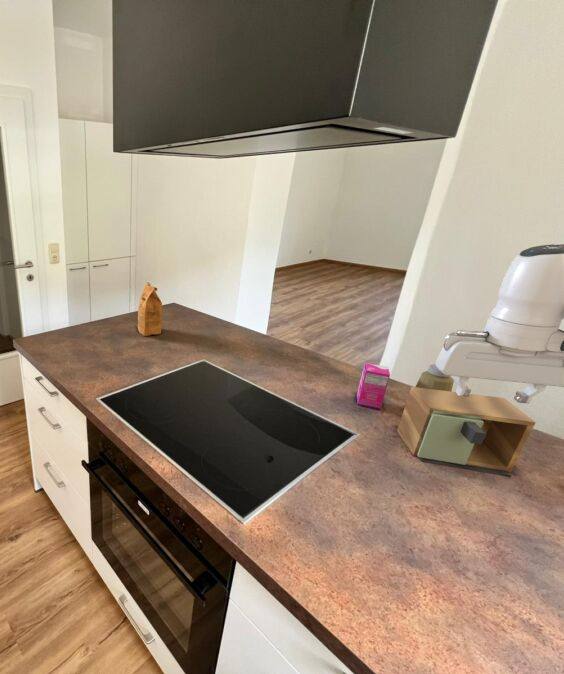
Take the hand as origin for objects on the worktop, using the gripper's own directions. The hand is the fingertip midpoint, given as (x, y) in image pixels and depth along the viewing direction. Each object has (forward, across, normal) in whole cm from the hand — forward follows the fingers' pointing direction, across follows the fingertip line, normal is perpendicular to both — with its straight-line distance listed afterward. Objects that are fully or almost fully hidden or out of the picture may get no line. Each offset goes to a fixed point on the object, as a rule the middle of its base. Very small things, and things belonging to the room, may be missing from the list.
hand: (490, 398), depth 72 cm
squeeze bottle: (+19, +2, +24) cm, 31 cm away
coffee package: (+18, -85, +66) cm, 110 cm away
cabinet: (+19, +2, +8) cm, 21 cm away
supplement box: (+19, -10, +26) cm, 34 cm away
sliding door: (+18, -3, 0) cm, 18 cm away
